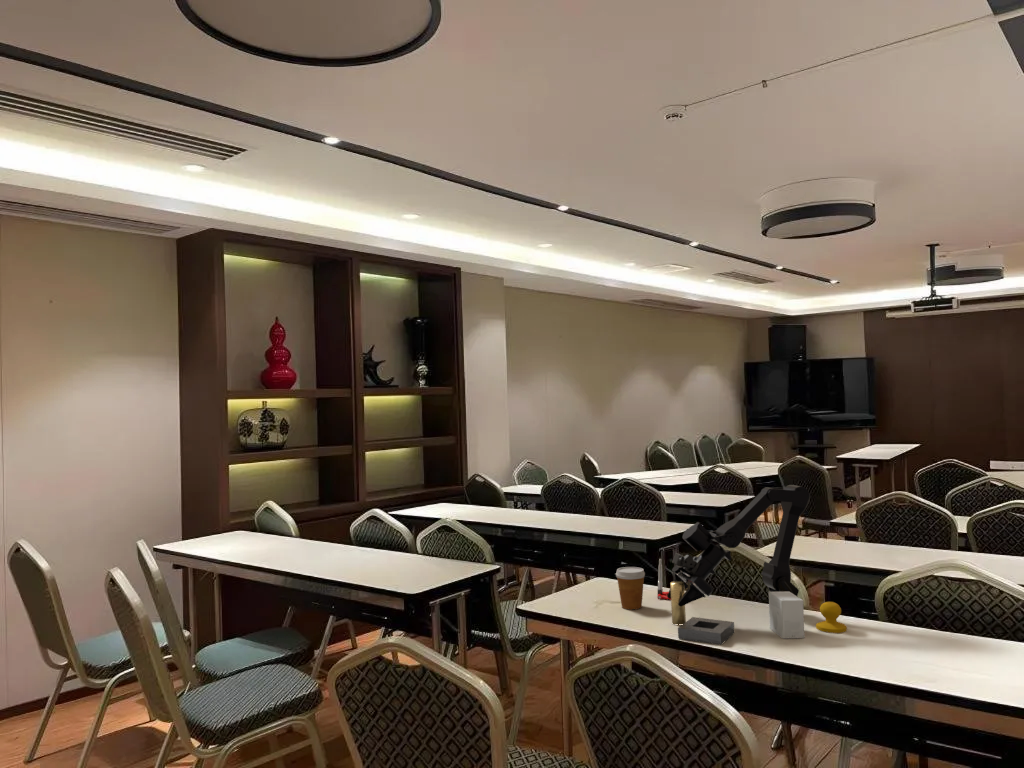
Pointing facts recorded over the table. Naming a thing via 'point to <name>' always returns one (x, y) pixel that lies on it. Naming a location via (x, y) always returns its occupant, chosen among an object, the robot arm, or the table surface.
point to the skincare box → (786, 614)
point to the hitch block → (706, 630)
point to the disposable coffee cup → (630, 586)
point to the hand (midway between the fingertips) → (673, 601)
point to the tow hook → (660, 591)
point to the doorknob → (831, 619)
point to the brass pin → (676, 595)
